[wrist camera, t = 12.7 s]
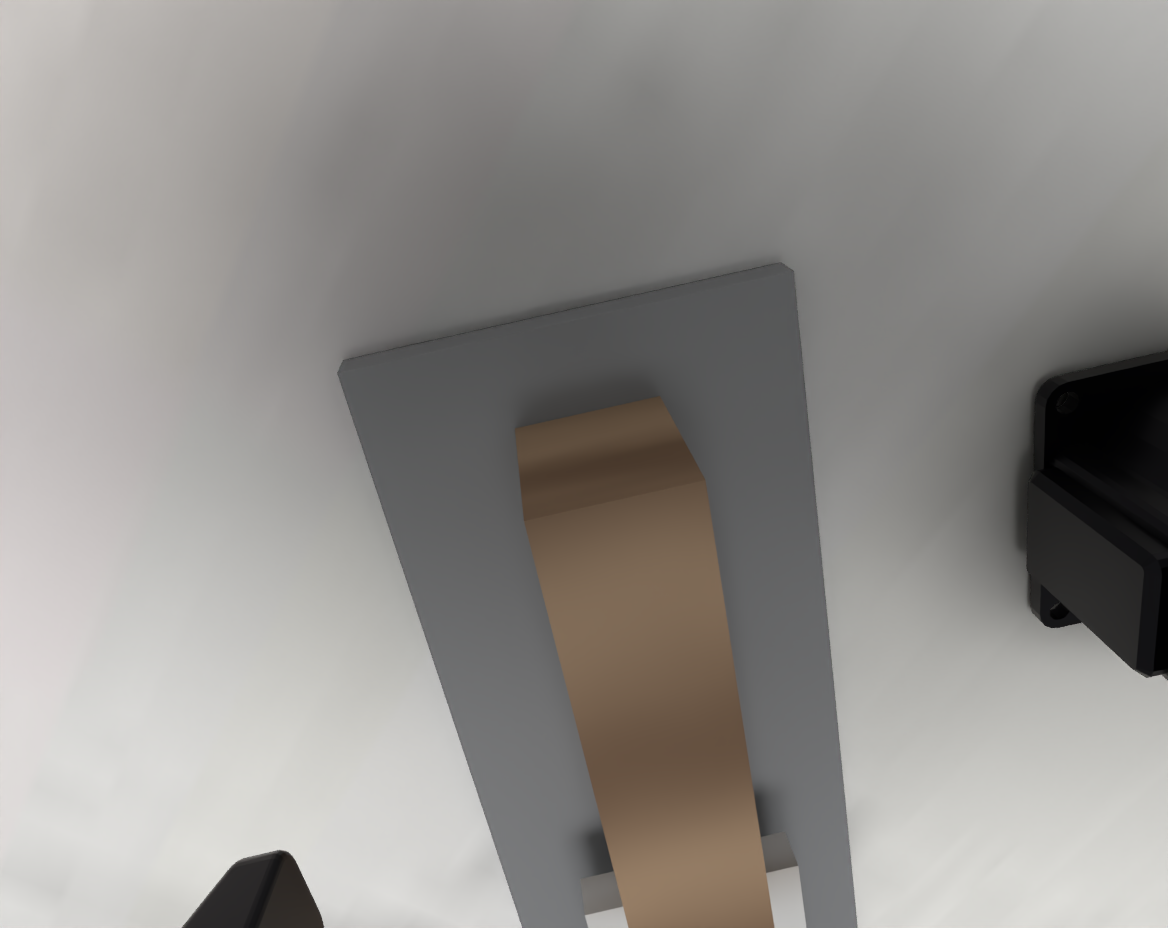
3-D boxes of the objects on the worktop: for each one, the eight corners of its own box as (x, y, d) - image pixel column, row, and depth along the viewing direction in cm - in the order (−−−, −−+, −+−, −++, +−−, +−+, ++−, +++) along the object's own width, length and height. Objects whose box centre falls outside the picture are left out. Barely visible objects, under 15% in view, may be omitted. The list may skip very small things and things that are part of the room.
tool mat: (781, 262, 18) (793, 271, 17) (855, 990, 28) (866, 1015, 27) (343, 360, 18) (337, 372, 17) (572, 1057, 28) (574, 1085, 27)
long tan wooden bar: (466, 439, 18) (463, 534, 14) (708, 385, 18) (766, 466, 14) (628, 1026, 26) (652, 1182, 22) (795, 986, 26) (847, 1136, 22)
